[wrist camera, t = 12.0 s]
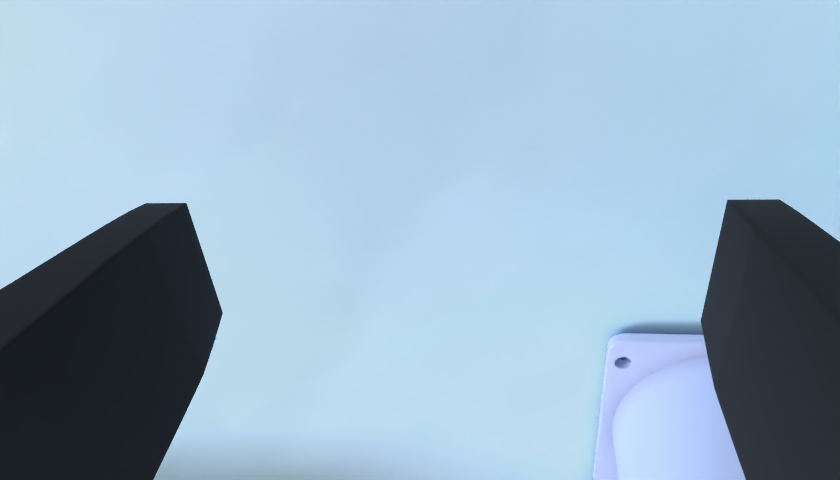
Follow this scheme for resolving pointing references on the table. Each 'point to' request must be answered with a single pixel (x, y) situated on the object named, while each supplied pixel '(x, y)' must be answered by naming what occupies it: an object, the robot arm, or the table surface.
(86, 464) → the robot arm
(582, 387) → the table surface
